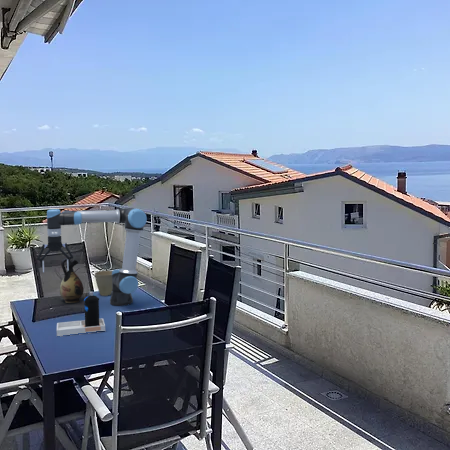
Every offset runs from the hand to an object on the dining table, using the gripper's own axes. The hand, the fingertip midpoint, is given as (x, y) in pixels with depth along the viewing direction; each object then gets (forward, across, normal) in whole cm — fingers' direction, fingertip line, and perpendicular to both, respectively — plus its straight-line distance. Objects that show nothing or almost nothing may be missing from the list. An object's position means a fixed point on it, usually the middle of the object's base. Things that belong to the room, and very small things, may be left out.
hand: (55, 271), depth 270 cm
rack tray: (+29, +12, -28) cm, 42 cm away
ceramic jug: (+29, +8, +34) cm, 45 cm away
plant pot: (+29, +32, +45) cm, 62 cm away
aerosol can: (+28, +18, -28) cm, 43 cm away
